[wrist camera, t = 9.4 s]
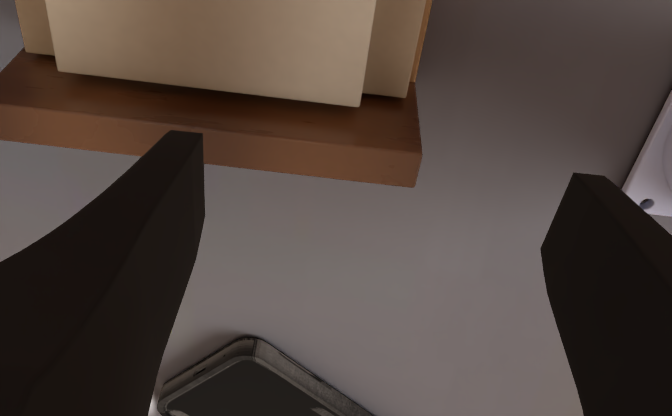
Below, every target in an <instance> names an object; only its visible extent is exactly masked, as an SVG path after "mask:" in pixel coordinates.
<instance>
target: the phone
mask: <svg viewBox="0 0 672 416" xmlns="http://www.w3.org/2000/svg"><path fill="white" fill-rule="evenodd" d="M157 410H158V412H159V413H160V414H161V415H162V416H373V415H371V414H370V413H368V412H367V411H365V410H364V409H362V408H361V407H360V406H358V405H357V404H355V403H354V402H352V401H351V400H349V399H348V398H346V397H345V396H344V395H342V394H341V393H339V392H338V391H336V390H335V389H333V388H332V387H330V386H329V385H328V384H326V383H325V382H323V381H322V380H320V379H319V378H317V377H316V376H314V375H313V374H312V373H310V372H309V371H307V370H306V369H304V368H303V367H301V366H300V365H298V364H297V363H296V362H294V361H293V360H291V359H290V358H288V357H287V356H285V355H284V354H282V353H281V352H280V351H278V350H277V349H275V348H274V347H272V346H271V345H269V344H268V343H266V342H264V341H262V340H259V339H255V338H242V339H238V340H236V341H234V342H232V343H230V344H229V345H227V346H226V347H224V348H222V349H221V350H219V351H217V352H216V353H214V354H212V355H211V356H209V357H207V358H206V359H204V360H203V361H201V362H199V363H198V364H196V365H194V366H193V367H191V368H189V369H188V370H186V371H184V372H183V373H181V374H179V375H178V376H176V377H175V378H173V379H171V380H170V381H168V382H166V383H165V384H164V385H163V388H162V391H161V394H160V397H159V401H158V404H157Z"/></svg>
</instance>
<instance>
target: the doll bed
mask: <svg viewBox="0 0 672 416" xmlns="http://www.w3.org/2000/svg"><path fill="white" fill-rule="evenodd" d="M432 1H433V0H15V4H16V9H17V13H18V18H19V23H20V27H21V32H22V37H23V41H24V46H25V47H24V48H23V49H22V50H21V51H20V52H19V53H18V54H17V55H16V56H15V57H14V58H13V59H12V61H11V62H10V63H9V64H8V65H7V66H6V67H5V68H4V69H3V70H2V71H1V72H0V140H5V141H14V142H22V143H31V144H39V145H48V146H57V147H65V148H74V149H83V150H91V151H100V152H108V153H117V154H126V155H134V156H143V155H144V154H145V153H146V152H147V151H148V150H149V149H150V148H151V147H152V146H153V145H154V144H155V143H157V142H158V141H159V140H160V139H161V138H162V137H163V136H164V135H165V134H166V133H167V132H169V131H170V130H177V131H186V132H195V133H203V159H204V164H212V165H221V166H229V167H238V168H247V169H255V170H264V171H272V172H281V173H290V174H298V175H307V176H316V177H324V178H333V179H342V180H350V181H359V182H367V183H376V184H385V185H393V186H402V187H411V188H413V187H414V186H415V184H416V180H417V176H418V172H419V167H420V163H421V159H422V145H421V136H420V126H419V117H418V107H417V98H416V88H415V81H416V76H417V71H418V66H419V62H420V57H421V52H422V48H423V43H424V38H425V34H426V29H427V24H428V19H429V15H430V10H431V5H432Z"/></svg>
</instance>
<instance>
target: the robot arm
mask: <svg viewBox="0 0 672 416" xmlns="http://www.w3.org/2000/svg"><path fill="white" fill-rule="evenodd" d="M645 199H649V200H648V201H647V202H645V203H641V201H643V200H645ZM648 214H653V215H661V216H670V217H672V90H671V92H670V94H669V96H668V98H667V100H666V102H665V104H664V106H663V108H662V110H661V112H660V114H659V116H658V118H657V120H656V122H655V124H654V126H653V128H652V130H651V132H650V134H649V136H648V138H647V140H646V142H645V144H644V146H643V148H642V150H641V152H640V154H639V156H638V158H637V160H636V162H635V164H634V166H633V168H632V170H631V172H630V174H629V176H628V178H627V180H626V182H625V184H624V186H623V188H622V190H621V189H620V188H619V187H617V186H616V185H615V184H614V183H613V182H611V181H610V180H609V179H607V178H606V177H605V176H600V175H591V174H581V173H573V175H572V177H571V180H570V182H569V184H568V187H567V189H566V191H565V194H564V196H563V198H562V200H561V203H560V205H559V207H558V210H557V212H556V214H555V217H554V219H553V221H552V223H551V226H550V228H549V230H548V233H547V235H546V237H545V240H544V242H543V244H542V246H541V256H542V263H543V271H544V277H545V283H546V289H547V294H548V297H549V301H550V304H551V307H552V311H553V314H554V317H555V321H556V324H557V327H558V330H559V333H560V337H561V340H562V343H563V346H564V349H565V352H566V356H567V359H568V362H569V365H570V368H571V371H572V375H573V378H574V381H575V384H576V387H577V390H578V394H579V398H580V402H581V405H582V409H583V414H584V416H672V235H671V234H669V233H668V232H667V231H666V230H665V229H664V228H663V227H662V226H661V225H659V224H658V223H657V222H656V221H655V220H654V219H653V218H652V217H651V216H650V215H648ZM204 217H205V198H204V159H203V133H195V132H186V131H177V130H170V131H169V132H167V133H166V134H165V135H164V136H163V137H162V138H161V139H160V140H159V141H158V142H157V143H155V144H154V145H153V146H152V147H151V148H150V149H149V150H148V151H147V152H146V153H145V154H144V155H143V156H142V157H141V158H140V159H139V160H138V161H137V162H136V163H135V164H134V165H133V166H132V167H131V168H130V169H128V170H127V171H126V172H125V173H124V174H123V175H122V176H121V177H120V178H118V179H117V180H116V181H115V182H114V183H113V184H112V185H111V186H109V187H108V188H107V189H106V190H105V191H104V192H103V193H101V194H100V195H99V196H98V197H96V198H95V199H94V200H93V201H91V202H90V203H89V204H88V205H86V206H85V207H84V208H83V209H81V210H80V211H79V212H77V213H76V214H75V215H74V216H72V217H71V218H70V219H68V220H67V221H66V222H64V223H63V224H62V225H60V226H59V227H57V228H56V229H54V230H53V231H52V232H50V233H49V234H47V235H45V236H44V237H42V238H41V239H39V240H38V241H36V242H35V243H33V244H31V245H30V246H28V247H27V248H25V249H23V250H22V251H20V252H18V253H16V254H14V255H13V256H11V257H9V258H7V259H5V260H3V261H2V262H0V416H148V412H149V408H150V403H151V399H152V395H153V390H154V386H155V382H156V377H157V373H158V370H159V367H160V363H161V360H162V357H163V353H164V350H165V348H166V345H167V342H168V339H169V336H170V333H171V330H172V327H173V325H174V322H175V319H176V316H177V313H178V310H179V307H180V304H181V302H182V299H183V296H184V293H185V290H186V287H187V284H188V281H189V278H190V275H191V272H192V269H193V266H194V263H195V260H196V256H197V252H198V247H199V242H200V238H201V233H202V228H203V223H204Z"/></svg>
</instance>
